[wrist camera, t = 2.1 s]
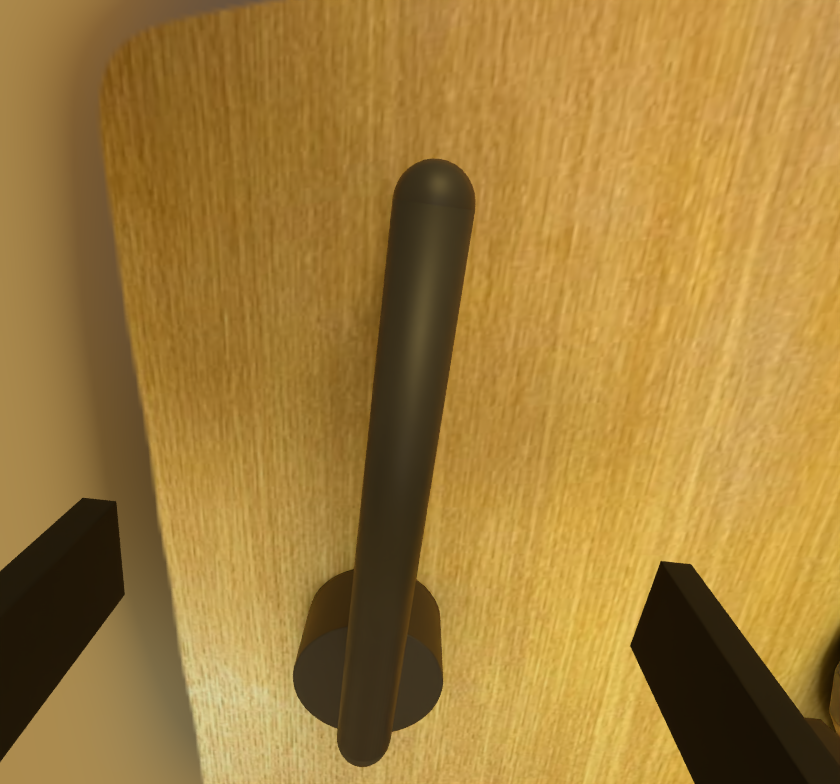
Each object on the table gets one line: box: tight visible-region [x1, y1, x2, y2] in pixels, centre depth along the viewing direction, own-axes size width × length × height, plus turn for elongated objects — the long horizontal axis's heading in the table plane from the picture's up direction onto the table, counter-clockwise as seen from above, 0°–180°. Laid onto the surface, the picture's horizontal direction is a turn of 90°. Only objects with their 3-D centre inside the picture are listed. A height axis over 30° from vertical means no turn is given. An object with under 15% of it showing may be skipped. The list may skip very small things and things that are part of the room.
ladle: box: [293, 159, 475, 767], centre depth 18 cm, size 24×6×8 cm, turn 173°
